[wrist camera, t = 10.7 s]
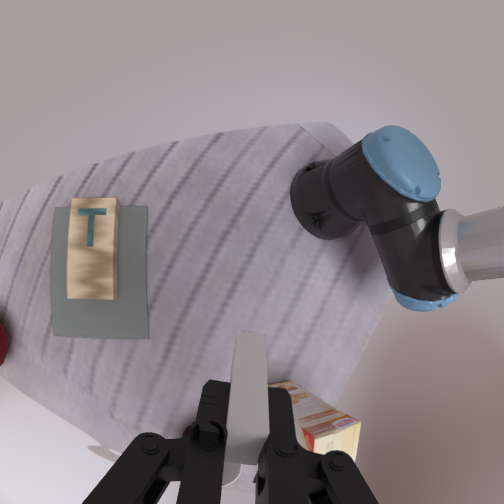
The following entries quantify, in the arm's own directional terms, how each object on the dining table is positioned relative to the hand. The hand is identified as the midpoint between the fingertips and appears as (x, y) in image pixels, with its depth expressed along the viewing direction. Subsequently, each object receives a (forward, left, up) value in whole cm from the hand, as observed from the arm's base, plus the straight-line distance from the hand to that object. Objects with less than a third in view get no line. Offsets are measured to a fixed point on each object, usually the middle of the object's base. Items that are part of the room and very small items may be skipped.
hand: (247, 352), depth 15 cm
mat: (+15, -6, -28) cm, 32 cm away
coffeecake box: (-13, +21, -28) cm, 38 cm away
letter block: (+15, -2, -25) cm, 29 cm away
